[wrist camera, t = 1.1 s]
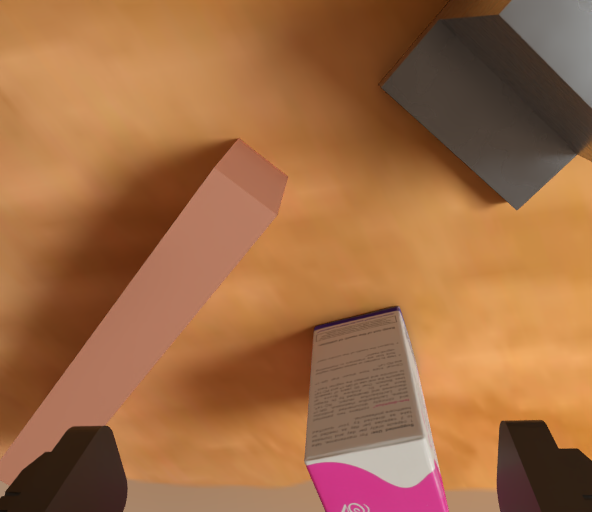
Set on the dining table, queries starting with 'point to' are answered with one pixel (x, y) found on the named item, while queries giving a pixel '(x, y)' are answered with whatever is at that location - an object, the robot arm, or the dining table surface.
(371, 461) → the supplement box
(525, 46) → the stand
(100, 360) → the batten
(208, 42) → the dining table surface
